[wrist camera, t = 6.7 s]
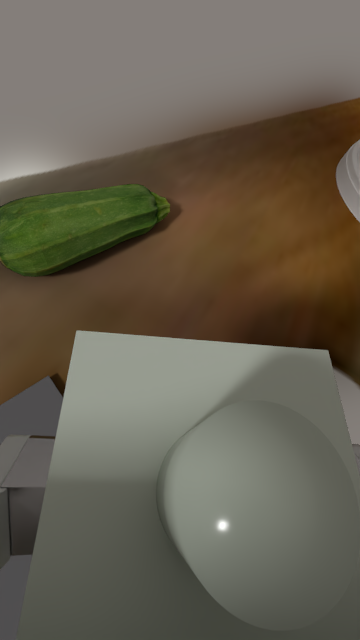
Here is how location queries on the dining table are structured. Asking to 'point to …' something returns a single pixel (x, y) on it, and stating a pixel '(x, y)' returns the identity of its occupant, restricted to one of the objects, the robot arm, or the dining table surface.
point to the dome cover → (350, 179)
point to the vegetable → (74, 226)
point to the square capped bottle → (197, 497)
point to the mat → (3, 420)
